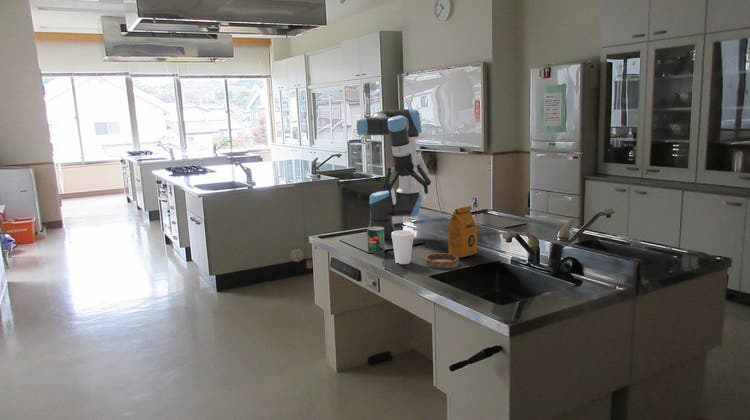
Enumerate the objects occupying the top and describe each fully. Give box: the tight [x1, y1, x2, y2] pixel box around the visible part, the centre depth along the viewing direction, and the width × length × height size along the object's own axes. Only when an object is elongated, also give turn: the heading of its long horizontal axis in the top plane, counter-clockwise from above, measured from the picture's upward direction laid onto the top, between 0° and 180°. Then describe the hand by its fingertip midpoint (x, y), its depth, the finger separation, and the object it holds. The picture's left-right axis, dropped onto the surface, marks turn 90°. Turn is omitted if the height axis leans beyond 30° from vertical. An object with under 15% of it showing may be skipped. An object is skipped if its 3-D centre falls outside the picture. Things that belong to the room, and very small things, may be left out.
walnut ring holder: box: [424, 252, 460, 270], centre depth 228 cm, size 14×14×3 cm
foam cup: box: [391, 229, 415, 265], centre depth 231 cm, size 10×9×13 cm
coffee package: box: [447, 205, 478, 258], centre depth 239 cm, size 10×12×22 cm
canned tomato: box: [366, 226, 385, 254], centre depth 250 cm, size 8×8×11 cm
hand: (410, 202), depth 229 cm, fingers open, 13 cm apart
